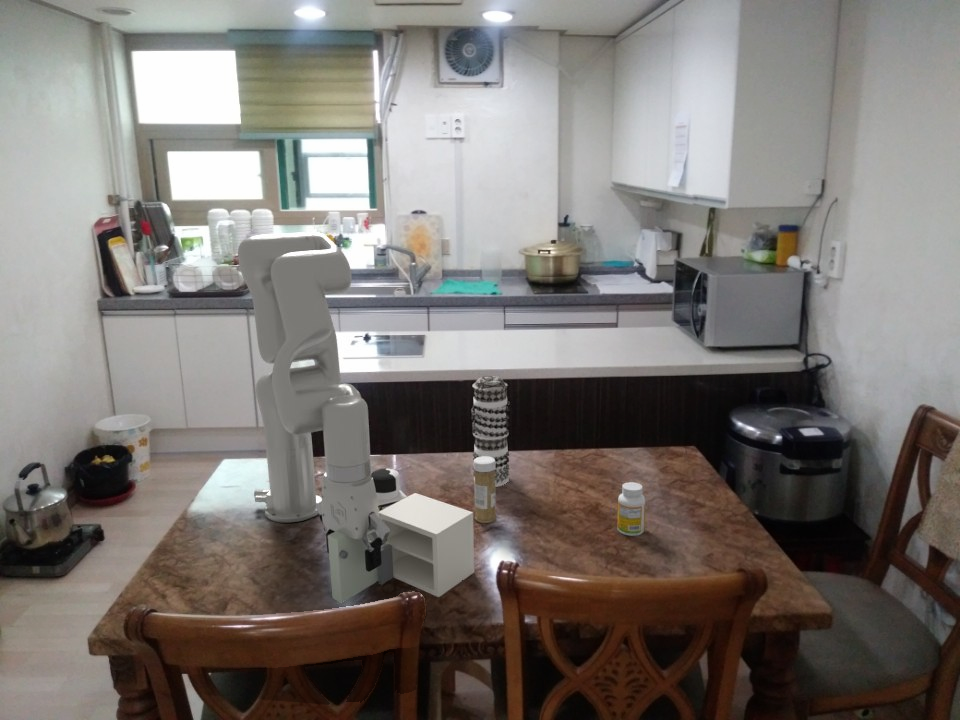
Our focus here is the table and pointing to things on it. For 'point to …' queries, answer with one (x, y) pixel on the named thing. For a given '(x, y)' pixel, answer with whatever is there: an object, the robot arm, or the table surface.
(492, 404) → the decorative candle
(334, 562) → the door
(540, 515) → the table surface
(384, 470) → the medicine bottle
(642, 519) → the supplement bottle
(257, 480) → the table surface
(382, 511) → the cabinet
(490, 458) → the spice jar
